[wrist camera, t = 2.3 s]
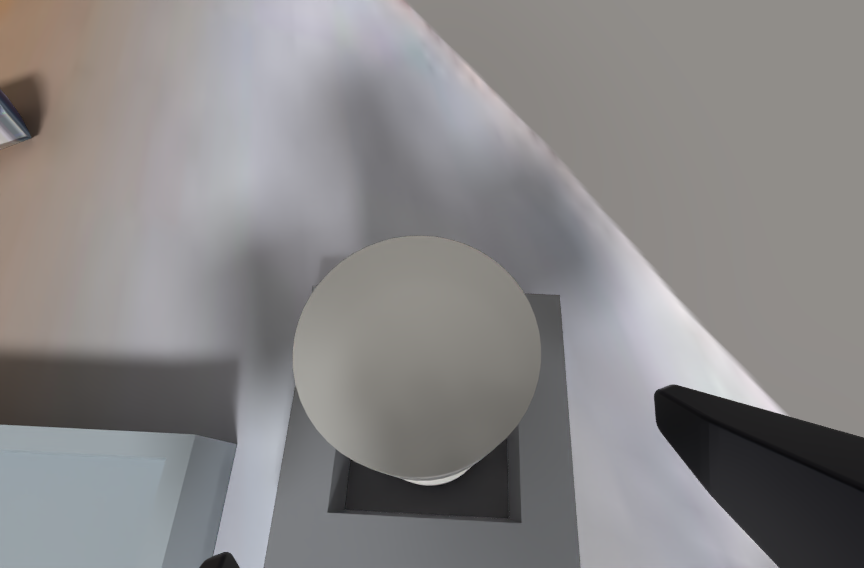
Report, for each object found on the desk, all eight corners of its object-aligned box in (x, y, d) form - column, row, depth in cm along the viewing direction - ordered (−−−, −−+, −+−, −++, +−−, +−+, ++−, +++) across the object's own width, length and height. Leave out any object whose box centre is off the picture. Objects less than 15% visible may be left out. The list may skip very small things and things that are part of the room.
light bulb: (482, 489, 18) (548, 484, 7) (372, 482, 18) (270, 469, 7) (482, 378, 20) (535, 239, 9) (383, 374, 20) (313, 231, 9)
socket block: (558, 576, 17) (582, 592, 14) (291, 560, 17) (262, 573, 14) (544, 320, 21) (559, 294, 18) (328, 312, 21) (312, 285, 18)
